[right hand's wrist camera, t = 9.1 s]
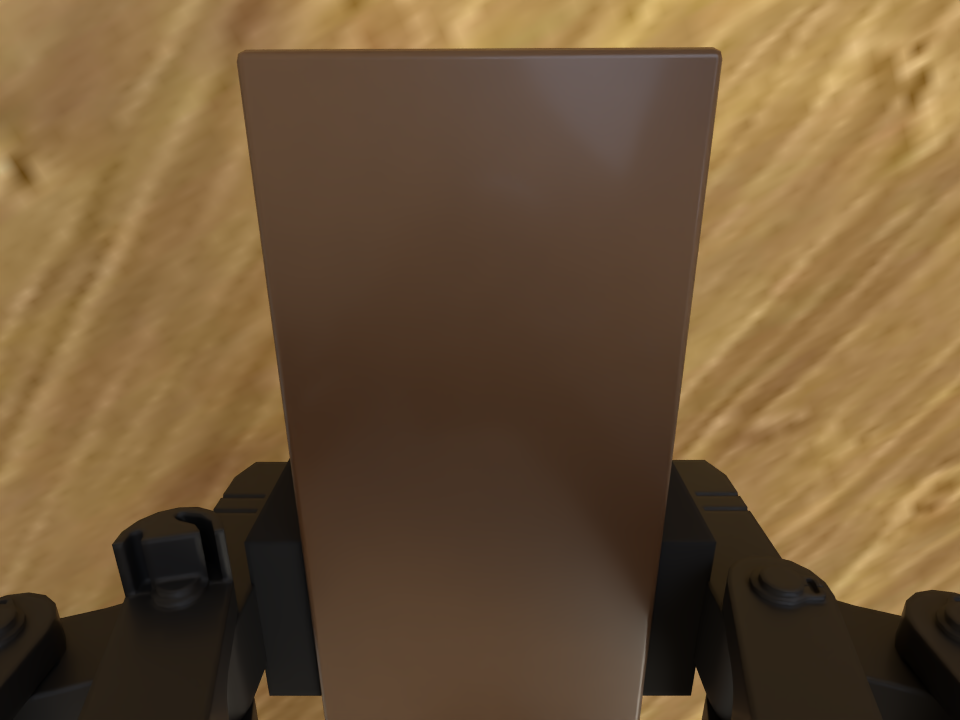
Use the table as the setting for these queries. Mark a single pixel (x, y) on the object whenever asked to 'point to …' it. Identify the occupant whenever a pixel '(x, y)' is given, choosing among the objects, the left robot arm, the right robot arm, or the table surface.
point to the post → (480, 360)
